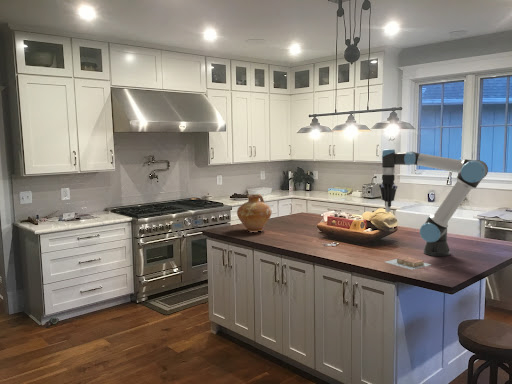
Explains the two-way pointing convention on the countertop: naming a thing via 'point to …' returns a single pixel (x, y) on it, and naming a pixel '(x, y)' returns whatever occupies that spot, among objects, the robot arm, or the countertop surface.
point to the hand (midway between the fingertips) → (387, 211)
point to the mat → (405, 265)
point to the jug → (254, 213)
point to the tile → (410, 261)
